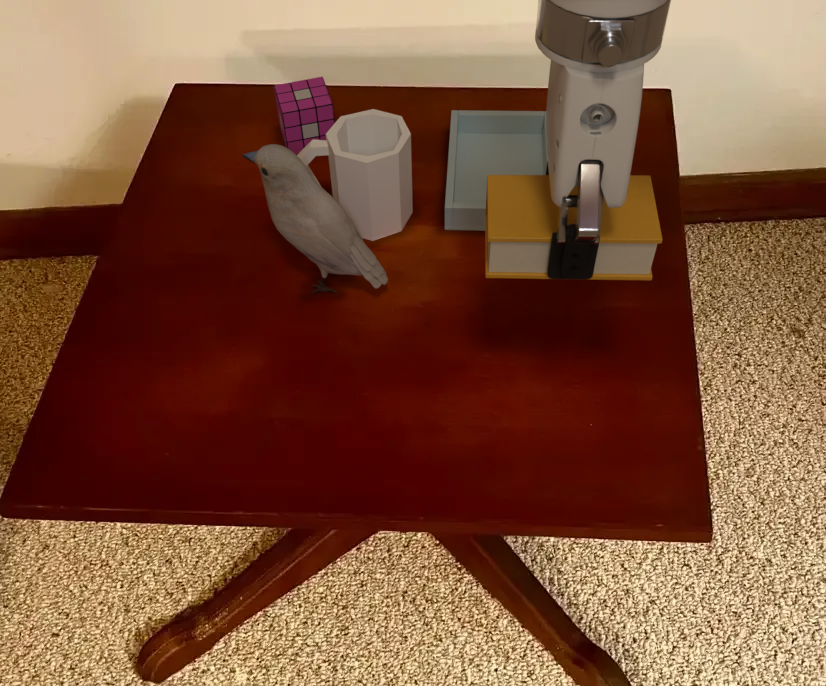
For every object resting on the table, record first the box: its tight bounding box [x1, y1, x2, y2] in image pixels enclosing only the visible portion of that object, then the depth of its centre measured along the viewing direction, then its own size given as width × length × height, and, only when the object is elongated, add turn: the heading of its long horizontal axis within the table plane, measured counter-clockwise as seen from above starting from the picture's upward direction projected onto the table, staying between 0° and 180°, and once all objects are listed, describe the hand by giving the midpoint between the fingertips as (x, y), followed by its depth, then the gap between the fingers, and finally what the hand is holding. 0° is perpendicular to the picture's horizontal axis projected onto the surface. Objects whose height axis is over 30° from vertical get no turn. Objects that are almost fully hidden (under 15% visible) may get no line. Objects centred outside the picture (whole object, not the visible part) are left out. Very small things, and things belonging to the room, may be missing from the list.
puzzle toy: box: [273, 76, 336, 155], centre depth 99 cm, size 6×6×6 cm
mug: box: [297, 108, 414, 242], centre depth 88 cm, size 12×9×10 cm
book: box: [484, 174, 663, 281], centre depth 65 cm, size 12×7×4 cm, turn 86°
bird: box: [241, 143, 389, 295], centre depth 81 cm, size 5×14×15 cm, turn 67°
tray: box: [443, 109, 548, 232], centre depth 93 cm, size 11×17×3 cm
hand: (566, 238), depth 65 cm, fingers closed on book, 7 cm apart
